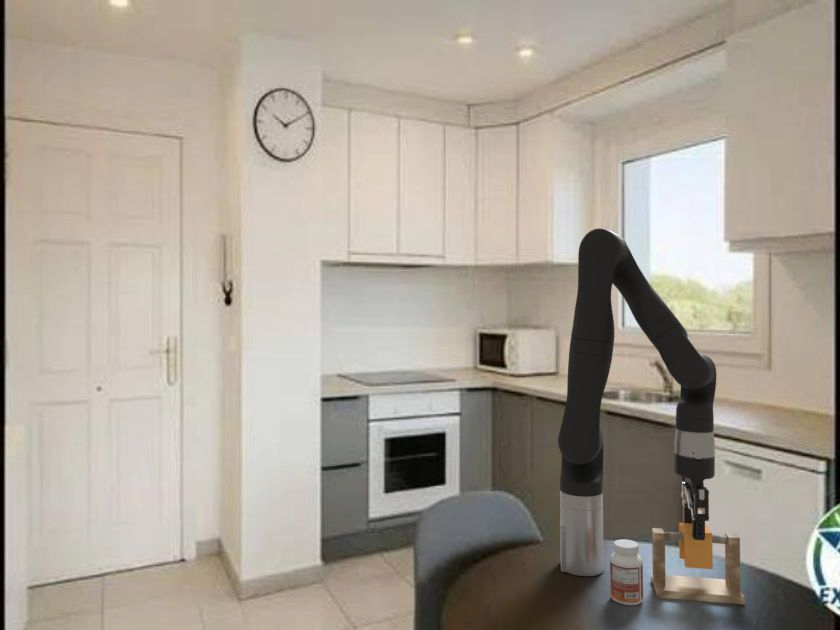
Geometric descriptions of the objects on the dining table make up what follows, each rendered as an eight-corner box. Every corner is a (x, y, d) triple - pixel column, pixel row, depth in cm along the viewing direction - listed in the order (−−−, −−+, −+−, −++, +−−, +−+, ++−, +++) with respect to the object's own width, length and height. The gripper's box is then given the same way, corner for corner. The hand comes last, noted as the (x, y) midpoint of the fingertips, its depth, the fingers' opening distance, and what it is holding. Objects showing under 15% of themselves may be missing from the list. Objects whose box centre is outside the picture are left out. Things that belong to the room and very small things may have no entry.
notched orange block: (685, 567, 124) (685, 531, 124) (679, 556, 130) (678, 522, 130) (712, 569, 123) (712, 533, 123) (705, 558, 129) (704, 524, 129)
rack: (657, 597, 124) (656, 537, 124) (651, 580, 132) (650, 524, 132) (744, 604, 121) (743, 542, 121) (732, 587, 128) (732, 528, 128)
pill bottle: (621, 589, 128) (621, 535, 128) (649, 600, 123) (648, 543, 123) (604, 598, 124) (603, 542, 124) (631, 609, 119) (631, 551, 119)
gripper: (668, 444, 134) (668, 519, 134) (681, 458, 120) (681, 542, 120) (706, 446, 132) (705, 522, 132) (723, 461, 118) (723, 546, 118)
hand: (693, 532), depth 126 cm, fingers open, 8 cm apart
